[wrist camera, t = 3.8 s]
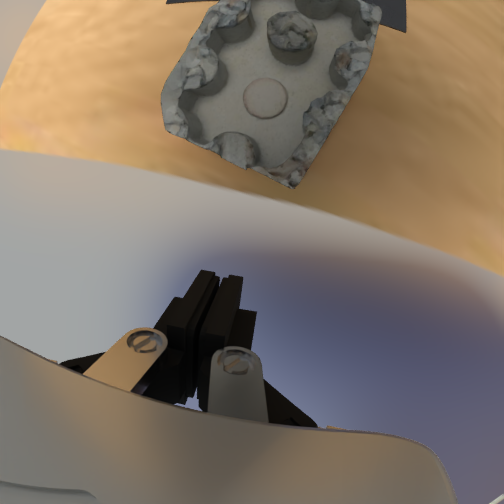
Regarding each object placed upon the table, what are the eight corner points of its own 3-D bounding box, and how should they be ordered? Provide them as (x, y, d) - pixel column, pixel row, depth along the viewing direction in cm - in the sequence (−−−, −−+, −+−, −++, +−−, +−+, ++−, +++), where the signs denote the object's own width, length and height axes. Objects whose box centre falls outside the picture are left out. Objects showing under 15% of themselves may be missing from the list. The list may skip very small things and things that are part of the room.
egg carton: (292, 189, 15) (293, 205, 11) (170, 127, 15) (135, 124, 11) (381, 34, 11) (407, 7, 7) (260, -22, 11) (252, -59, 7)
